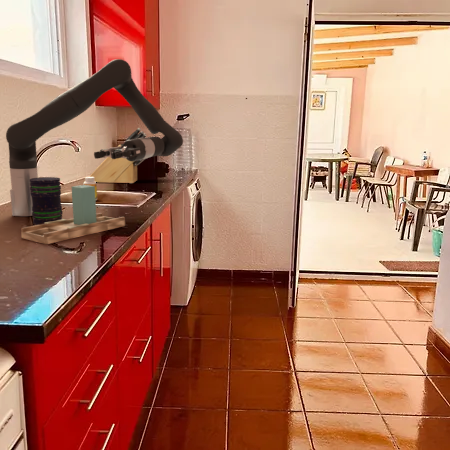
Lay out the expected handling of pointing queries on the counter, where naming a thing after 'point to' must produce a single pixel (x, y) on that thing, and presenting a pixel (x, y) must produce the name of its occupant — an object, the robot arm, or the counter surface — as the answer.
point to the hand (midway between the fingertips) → (103, 155)
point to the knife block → (119, 166)
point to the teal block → (84, 204)
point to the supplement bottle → (91, 184)
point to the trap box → (69, 229)
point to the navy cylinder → (46, 199)
